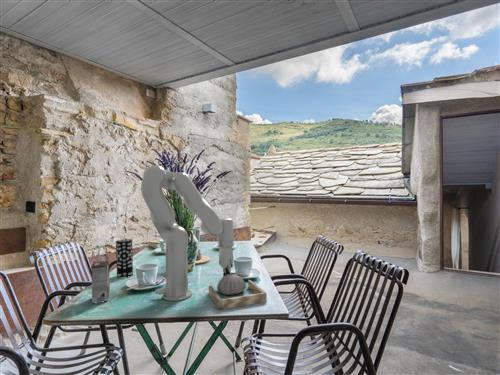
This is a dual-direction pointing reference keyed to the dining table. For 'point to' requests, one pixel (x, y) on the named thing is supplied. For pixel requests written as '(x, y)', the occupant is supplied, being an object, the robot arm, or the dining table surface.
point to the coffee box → (100, 281)
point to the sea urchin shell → (231, 284)
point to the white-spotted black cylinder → (124, 257)
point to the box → (241, 300)
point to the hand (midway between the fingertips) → (227, 280)
